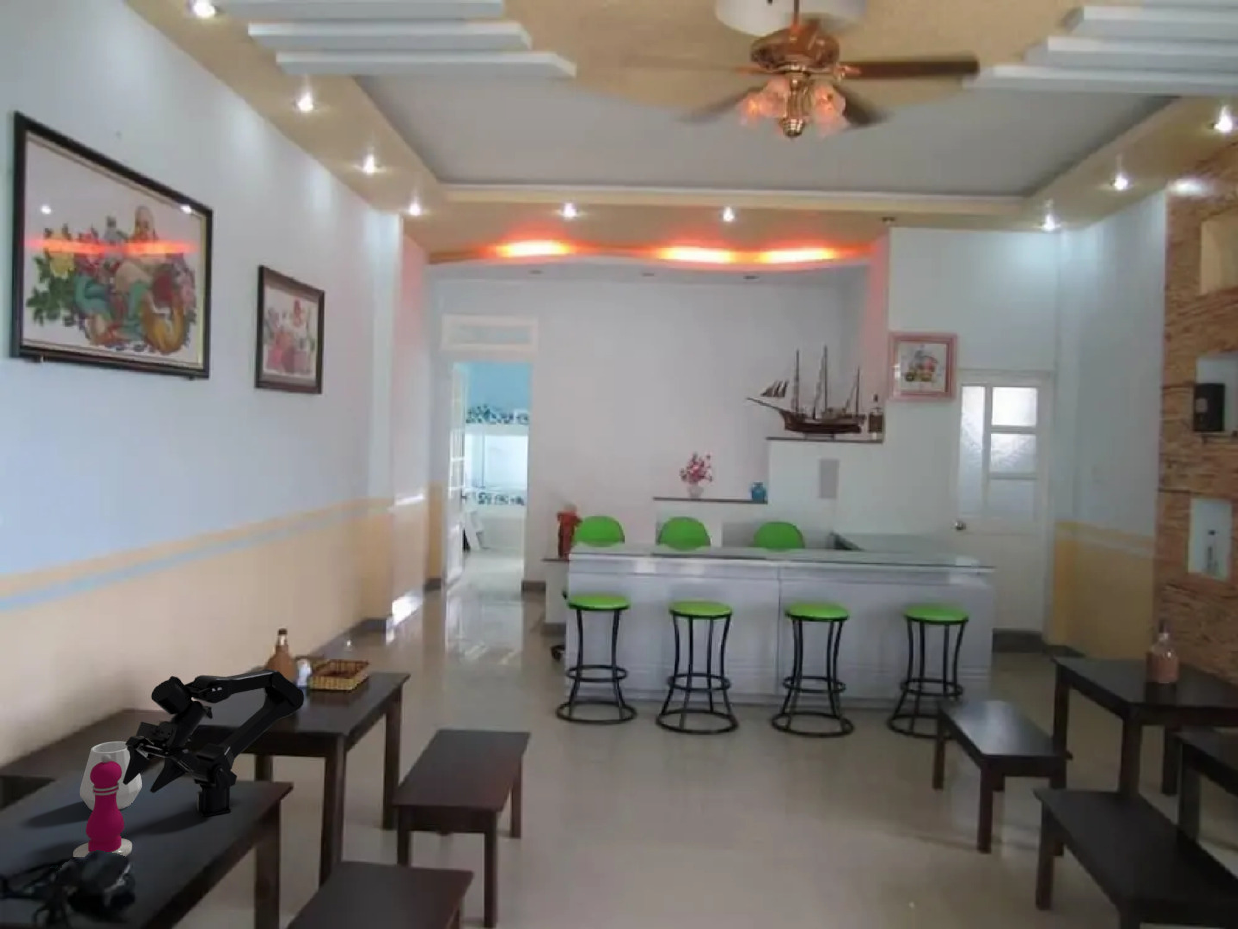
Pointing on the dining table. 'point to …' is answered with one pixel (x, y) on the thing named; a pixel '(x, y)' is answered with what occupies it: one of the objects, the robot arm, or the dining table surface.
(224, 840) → the dining table surface
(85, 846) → the saucer
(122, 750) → the cup
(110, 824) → the pepper mill
